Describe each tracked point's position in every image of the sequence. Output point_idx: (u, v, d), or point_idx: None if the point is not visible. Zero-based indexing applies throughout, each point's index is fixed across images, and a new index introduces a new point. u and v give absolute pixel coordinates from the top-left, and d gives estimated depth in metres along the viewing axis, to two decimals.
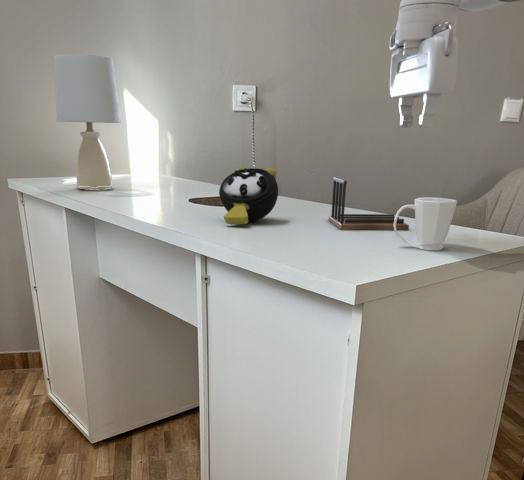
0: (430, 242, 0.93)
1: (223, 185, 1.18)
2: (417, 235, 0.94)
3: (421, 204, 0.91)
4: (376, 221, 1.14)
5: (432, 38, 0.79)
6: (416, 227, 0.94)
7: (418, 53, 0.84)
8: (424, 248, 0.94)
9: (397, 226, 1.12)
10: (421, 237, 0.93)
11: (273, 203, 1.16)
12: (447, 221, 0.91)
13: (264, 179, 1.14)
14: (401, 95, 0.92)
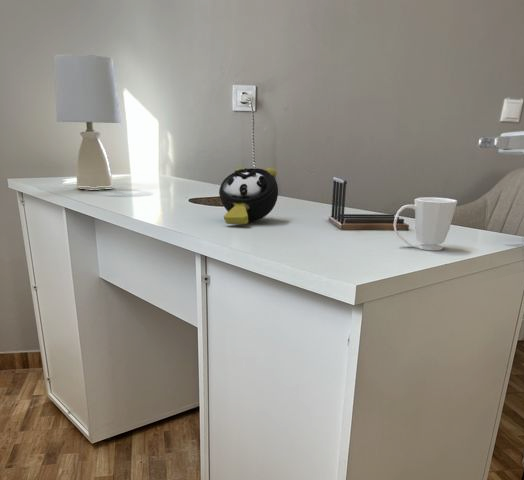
0: (430, 242, 0.93)
1: (223, 185, 1.18)
2: (417, 235, 0.94)
3: (421, 204, 0.91)
4: (376, 221, 1.14)
5: None
6: (416, 227, 0.94)
7: None
8: (424, 248, 0.94)
9: (397, 226, 1.12)
10: (421, 237, 0.93)
11: (273, 203, 1.16)
12: (447, 221, 0.91)
13: (264, 179, 1.14)
14: (522, 153, 0.90)
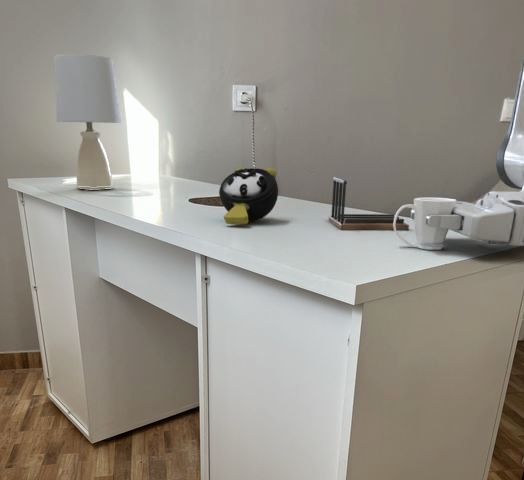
0: (430, 241, 0.93)
1: (223, 185, 1.18)
2: (417, 235, 0.94)
3: (420, 203, 0.91)
4: (376, 221, 1.14)
5: None
6: (416, 227, 0.94)
7: None
8: (424, 247, 0.94)
9: (397, 226, 1.12)
10: (421, 237, 0.93)
11: (273, 203, 1.16)
12: None
13: (264, 179, 1.14)
14: (455, 231, 0.91)
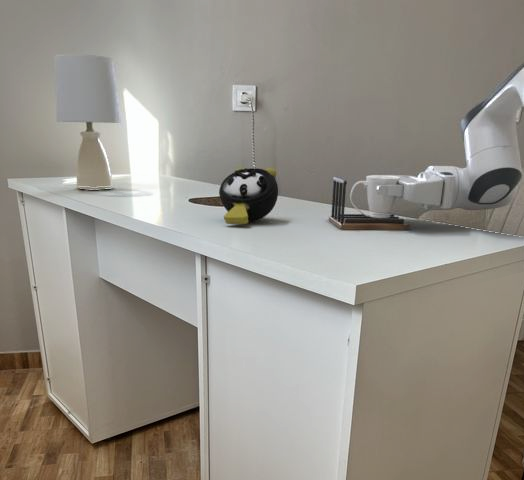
0: (379, 211, 1.14)
1: (223, 185, 1.18)
2: (369, 206, 1.16)
3: (370, 180, 1.13)
4: (376, 221, 1.14)
5: None
6: (368, 199, 1.15)
7: None
8: (374, 216, 1.15)
9: (397, 226, 1.12)
10: (372, 208, 1.15)
11: (273, 203, 1.16)
12: None
13: (264, 179, 1.14)
14: None
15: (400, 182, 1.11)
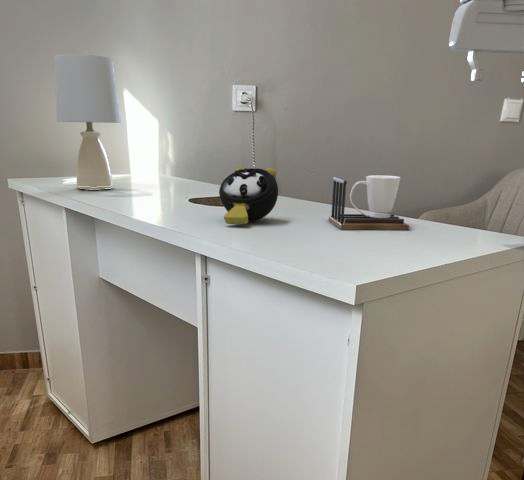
0: (379, 211, 1.14)
1: (223, 185, 1.18)
2: (369, 206, 1.16)
3: (370, 179, 1.13)
4: (376, 221, 1.14)
5: None
6: (368, 199, 1.16)
7: None
8: (374, 216, 1.15)
9: (397, 226, 1.12)
10: (372, 207, 1.15)
11: (273, 203, 1.16)
12: (392, 194, 1.13)
13: (264, 179, 1.14)
14: (491, 48, 0.95)
15: None
